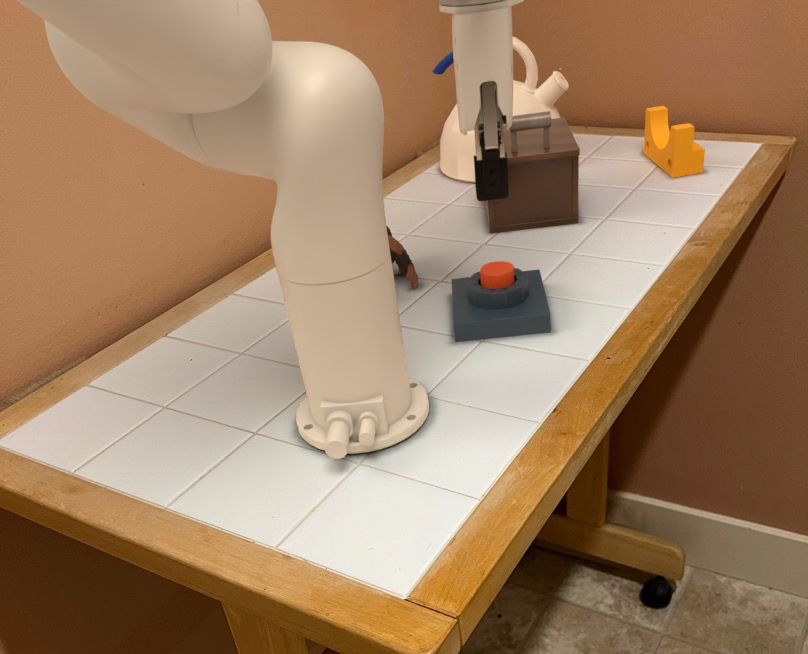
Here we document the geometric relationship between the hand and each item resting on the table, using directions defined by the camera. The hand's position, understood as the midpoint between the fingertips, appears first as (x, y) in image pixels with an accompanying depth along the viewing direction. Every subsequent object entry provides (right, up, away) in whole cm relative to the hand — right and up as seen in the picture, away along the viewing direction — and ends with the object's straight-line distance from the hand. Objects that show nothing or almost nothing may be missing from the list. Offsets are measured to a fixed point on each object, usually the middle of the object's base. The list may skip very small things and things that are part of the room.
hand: (492, 196), depth 82 cm
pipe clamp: (+31, +18, +38) cm, 52 cm away
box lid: (+7, +16, +24) cm, 30 cm away
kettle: (+7, +23, +48) cm, 53 cm away
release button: (+1, -7, +5) cm, 9 cm away
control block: (+2, -10, +8) cm, 13 cm away
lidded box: (+8, +9, +30) cm, 33 cm away
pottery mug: (-12, -5, +18) cm, 22 cm away
